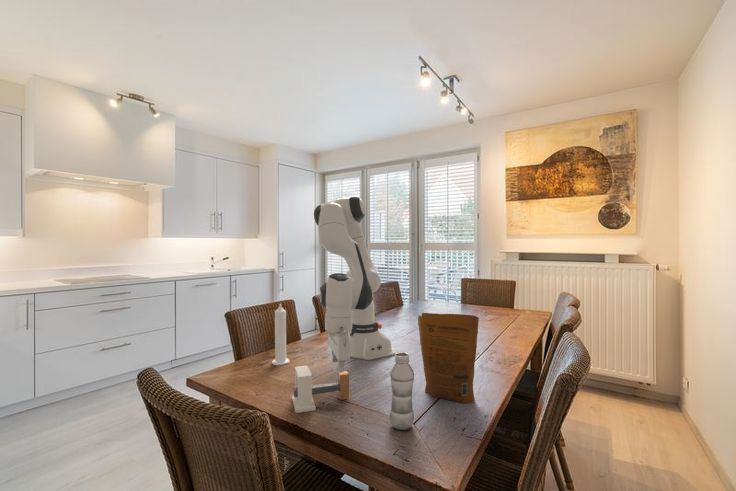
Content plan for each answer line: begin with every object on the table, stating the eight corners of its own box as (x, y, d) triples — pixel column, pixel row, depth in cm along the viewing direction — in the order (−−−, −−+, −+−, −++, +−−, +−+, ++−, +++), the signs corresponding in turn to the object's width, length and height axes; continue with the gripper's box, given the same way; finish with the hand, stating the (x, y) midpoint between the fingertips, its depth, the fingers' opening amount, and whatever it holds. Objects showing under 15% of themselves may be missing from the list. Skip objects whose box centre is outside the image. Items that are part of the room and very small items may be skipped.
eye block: (310, 395, 115) (310, 364, 114) (315, 409, 105) (315, 375, 105) (292, 398, 113) (291, 366, 113) (295, 413, 103) (295, 378, 103)
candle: (285, 366, 142) (284, 305, 141) (269, 365, 143) (268, 304, 142) (292, 360, 148) (291, 302, 148) (276, 359, 150) (276, 301, 149)
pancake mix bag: (477, 408, 106) (477, 317, 105) (417, 396, 114) (417, 311, 114) (480, 399, 112) (480, 313, 111) (423, 388, 120) (423, 307, 120)
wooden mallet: (346, 394, 115) (346, 370, 115) (349, 398, 112) (349, 374, 112) (293, 402, 109) (293, 377, 109) (294, 407, 107) (294, 381, 106)
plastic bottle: (388, 421, 99) (387, 351, 98) (411, 420, 99) (411, 350, 99) (391, 433, 92) (391, 359, 92) (416, 432, 93) (416, 358, 92)
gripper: (356, 331, 104) (355, 377, 104) (341, 317, 123) (341, 355, 123) (335, 332, 102) (334, 379, 102) (324, 317, 121) (323, 357, 122)
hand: (337, 366), depth 113 cm, fingers open, 8 cm apart
